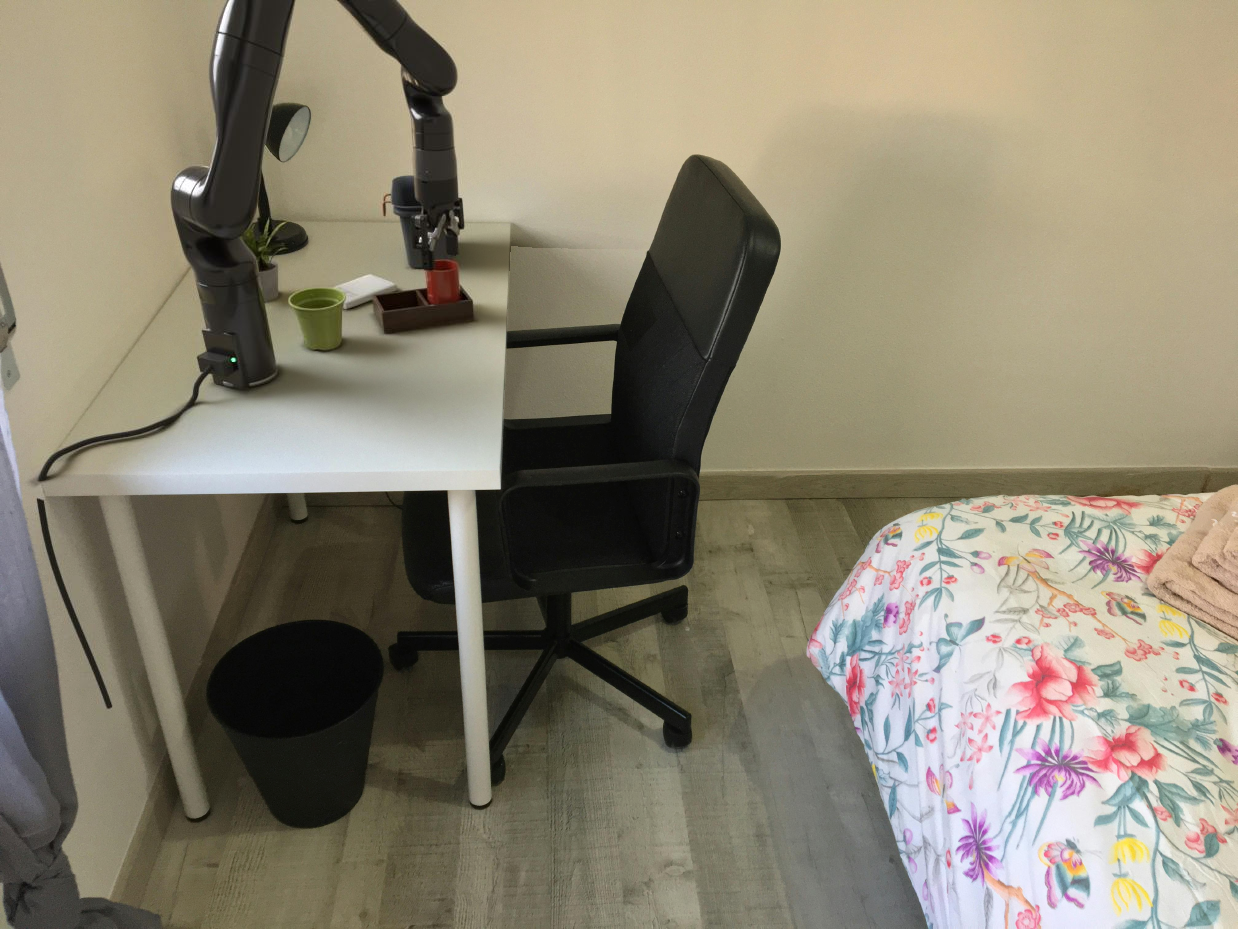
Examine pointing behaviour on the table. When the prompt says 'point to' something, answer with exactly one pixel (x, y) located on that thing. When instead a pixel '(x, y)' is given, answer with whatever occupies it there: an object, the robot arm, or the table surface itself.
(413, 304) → the caddy
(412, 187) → the storage bin
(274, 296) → the house plant
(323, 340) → the plant pot
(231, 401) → the table surface
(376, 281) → the hard drive
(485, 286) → the table surface
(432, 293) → the cup
